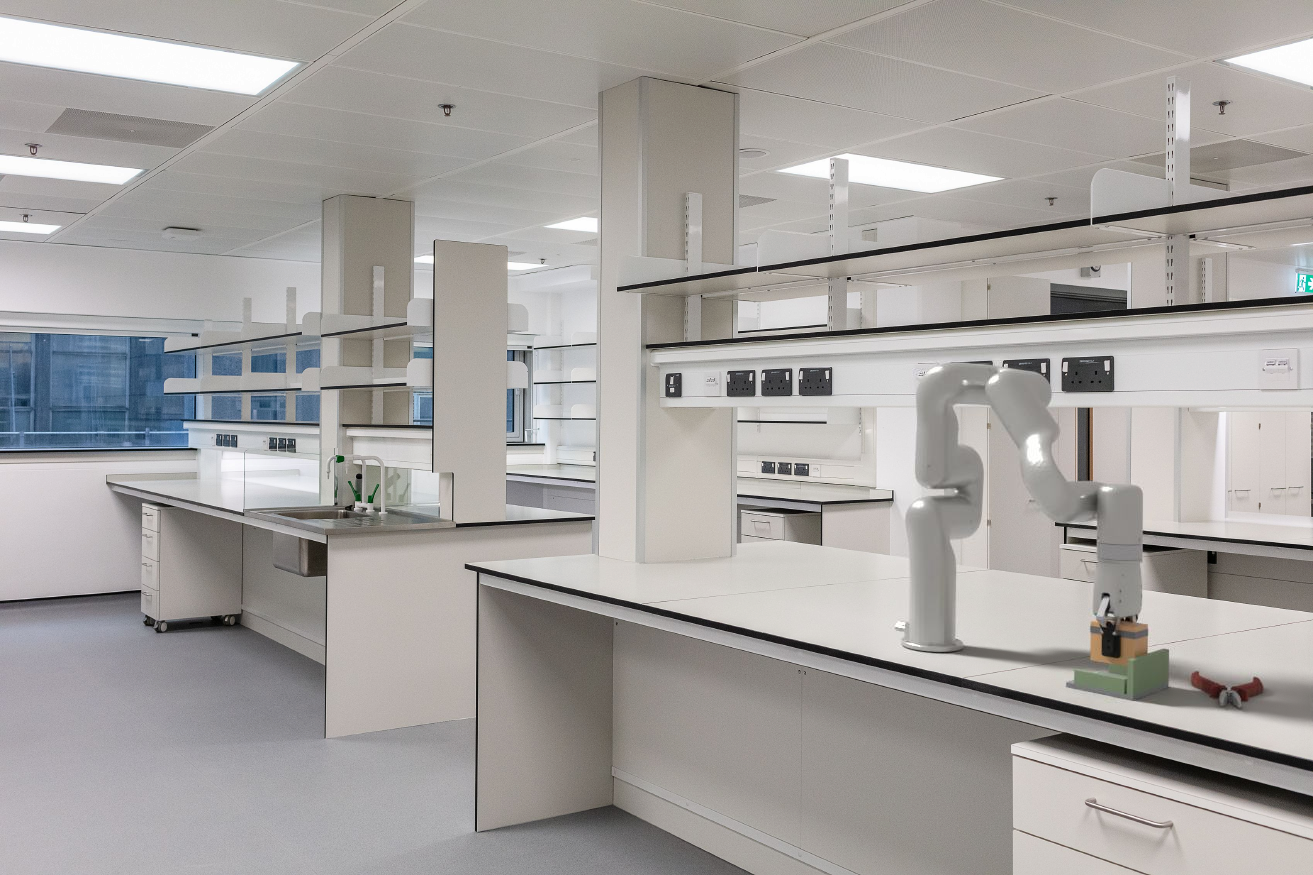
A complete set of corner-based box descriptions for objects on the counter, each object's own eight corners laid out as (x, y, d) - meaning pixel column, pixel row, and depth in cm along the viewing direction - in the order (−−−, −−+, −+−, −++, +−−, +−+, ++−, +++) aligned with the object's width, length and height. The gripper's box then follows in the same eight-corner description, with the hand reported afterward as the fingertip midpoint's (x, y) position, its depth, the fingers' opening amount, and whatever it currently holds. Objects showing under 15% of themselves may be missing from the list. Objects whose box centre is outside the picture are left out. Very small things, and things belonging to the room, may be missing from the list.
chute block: (1090, 659, 190) (1090, 621, 190) (1103, 655, 194) (1103, 617, 193) (1134, 667, 184) (1135, 627, 184) (1147, 663, 187) (1148, 624, 187)
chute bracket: (1066, 686, 189) (1066, 648, 189) (1103, 674, 198) (1103, 638, 198) (1132, 700, 180) (1133, 660, 180) (1168, 687, 189) (1169, 649, 189)
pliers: (1192, 708, 177) (1192, 693, 177) (1190, 682, 195) (1190, 668, 195) (1271, 717, 172) (1271, 701, 172) (1261, 690, 190) (1261, 675, 190)
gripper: (1120, 547, 197) (1120, 644, 197) (1075, 554, 186) (1075, 657, 186) (1161, 551, 191) (1160, 651, 192) (1117, 559, 180) (1117, 665, 180)
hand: (1118, 653), depth 189 cm, fingers closed on chute block, 5 cm apart
